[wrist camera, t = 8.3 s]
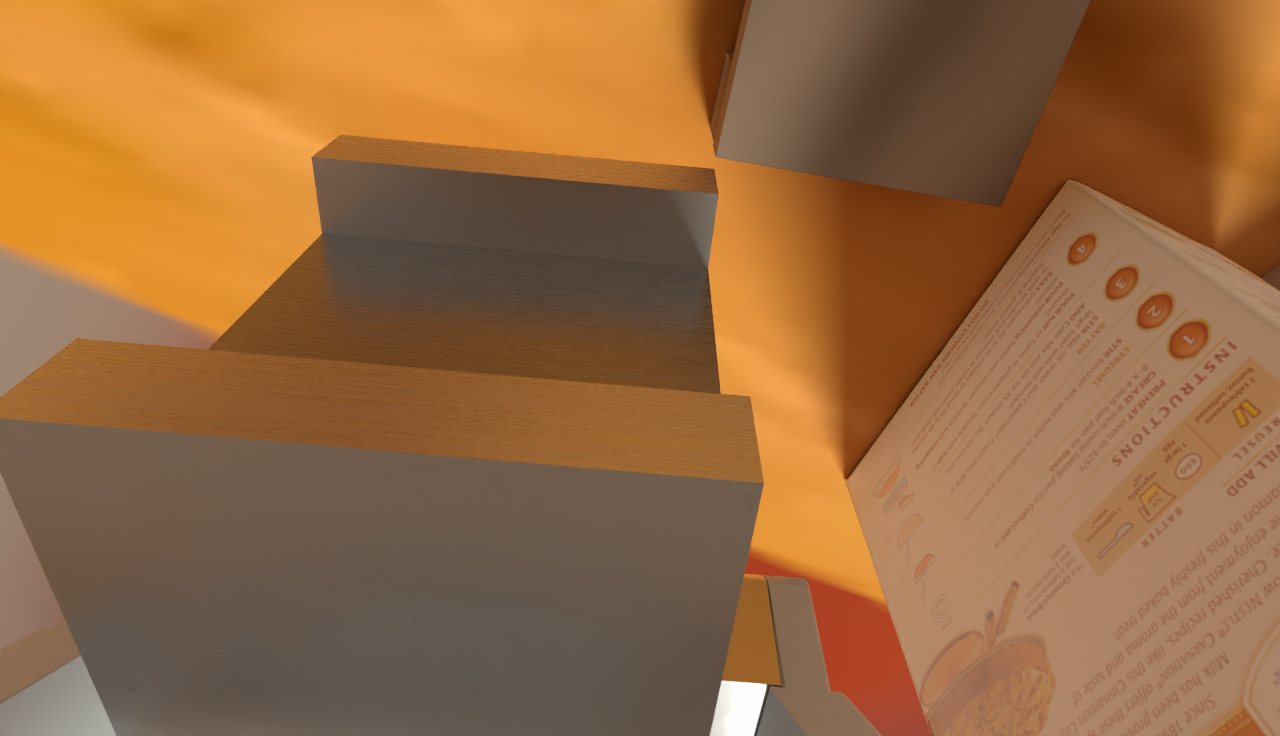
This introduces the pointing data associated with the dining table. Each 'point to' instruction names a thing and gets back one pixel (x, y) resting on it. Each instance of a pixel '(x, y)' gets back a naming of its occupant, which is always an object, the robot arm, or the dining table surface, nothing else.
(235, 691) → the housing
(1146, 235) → the coffeecake box
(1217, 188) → the dining table surface
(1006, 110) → the stand
